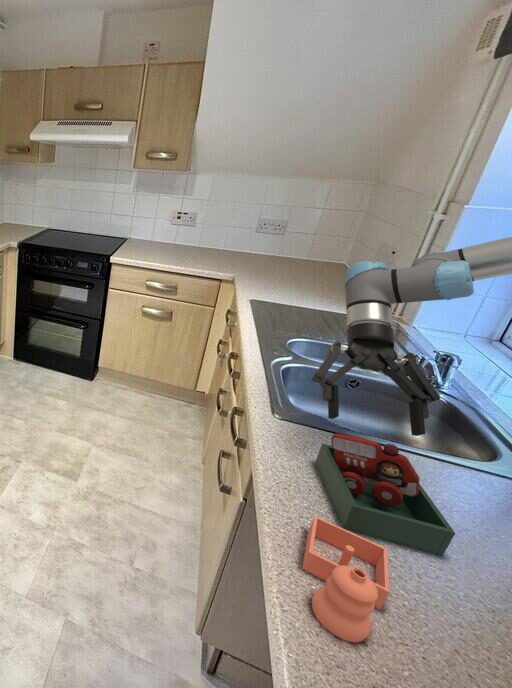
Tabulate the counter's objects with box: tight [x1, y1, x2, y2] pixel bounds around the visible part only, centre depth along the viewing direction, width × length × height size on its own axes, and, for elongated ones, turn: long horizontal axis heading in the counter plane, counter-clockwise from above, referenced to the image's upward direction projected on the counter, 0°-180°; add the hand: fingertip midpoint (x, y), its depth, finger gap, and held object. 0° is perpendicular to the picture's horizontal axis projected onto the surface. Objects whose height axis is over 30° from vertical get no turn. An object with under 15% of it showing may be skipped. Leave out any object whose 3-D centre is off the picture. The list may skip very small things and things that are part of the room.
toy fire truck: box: [331, 433, 420, 506], centre depth 78 cm, size 7×12×10 cm, turn 42°
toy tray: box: [314, 443, 456, 557], centre depth 77 cm, size 14×18×6 cm
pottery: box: [301, 515, 390, 643], centre depth 61 cm, size 18×10×10 cm, turn 140°
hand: (374, 425), depth 82 cm, fingers open, 13 cm apart
